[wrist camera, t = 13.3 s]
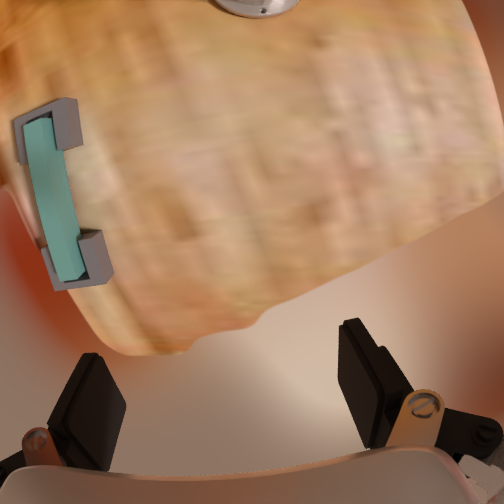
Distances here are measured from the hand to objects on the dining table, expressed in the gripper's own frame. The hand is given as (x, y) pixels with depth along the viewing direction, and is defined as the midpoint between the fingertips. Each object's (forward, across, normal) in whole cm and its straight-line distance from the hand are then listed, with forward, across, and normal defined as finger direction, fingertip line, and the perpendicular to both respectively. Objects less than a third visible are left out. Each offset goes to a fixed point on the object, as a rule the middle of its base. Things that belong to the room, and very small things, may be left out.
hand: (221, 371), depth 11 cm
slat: (+29, +22, -6) cm, 37 cm away
